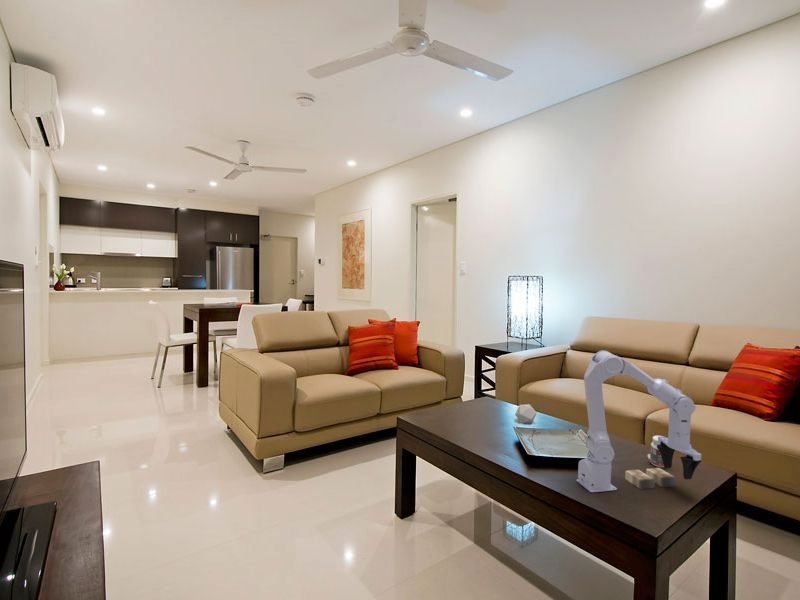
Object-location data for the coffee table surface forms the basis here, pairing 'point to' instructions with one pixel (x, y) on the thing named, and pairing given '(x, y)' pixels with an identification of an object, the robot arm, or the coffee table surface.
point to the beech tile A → (639, 479)
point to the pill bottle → (655, 453)
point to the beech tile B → (661, 477)
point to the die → (525, 413)
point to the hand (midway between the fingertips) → (677, 473)
